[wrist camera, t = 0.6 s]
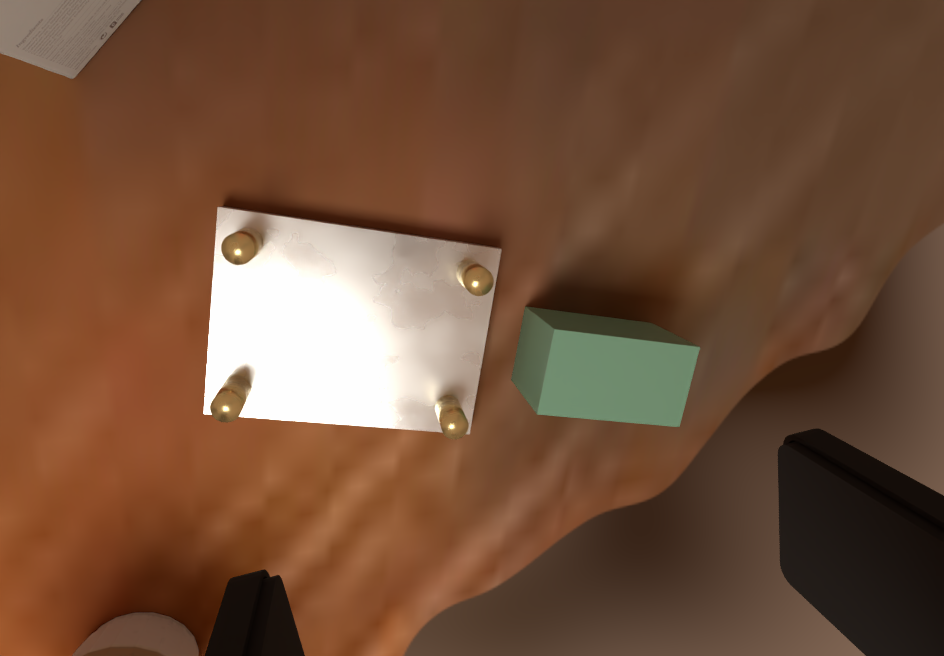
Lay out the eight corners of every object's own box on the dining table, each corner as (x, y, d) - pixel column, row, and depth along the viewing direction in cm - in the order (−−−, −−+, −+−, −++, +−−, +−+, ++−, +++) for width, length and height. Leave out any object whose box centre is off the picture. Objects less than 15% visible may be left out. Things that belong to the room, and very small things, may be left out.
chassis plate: (497, 246, 37) (514, 255, 33) (466, 426, 39) (478, 455, 35) (222, 205, 33) (204, 209, 29) (208, 406, 36) (189, 435, 32)
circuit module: (651, 322, 40) (699, 347, 34) (634, 391, 41) (679, 426, 35) (524, 306, 38) (554, 329, 32) (510, 379, 39) (537, 414, 33)
